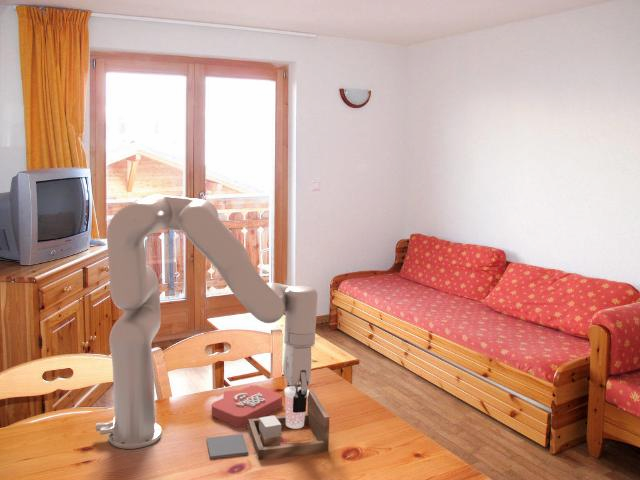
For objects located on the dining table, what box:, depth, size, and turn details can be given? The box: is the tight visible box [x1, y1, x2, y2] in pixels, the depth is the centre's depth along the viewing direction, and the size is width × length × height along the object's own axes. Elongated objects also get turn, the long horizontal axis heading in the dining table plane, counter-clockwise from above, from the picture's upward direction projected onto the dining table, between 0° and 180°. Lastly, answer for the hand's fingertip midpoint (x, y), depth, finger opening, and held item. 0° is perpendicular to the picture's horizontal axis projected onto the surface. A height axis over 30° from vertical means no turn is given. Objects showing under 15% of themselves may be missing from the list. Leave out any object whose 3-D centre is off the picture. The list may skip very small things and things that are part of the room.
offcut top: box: [258, 414, 282, 439], centre depth 150 cm, size 4×5×3 cm
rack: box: [247, 389, 330, 461], centre depth 151 cm, size 17×16×9 cm
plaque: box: [211, 385, 283, 428], centre depth 169 cm, size 18×4×15 cm
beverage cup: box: [283, 383, 310, 430], centre depth 151 cm, size 6×6×14 cm
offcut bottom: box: [259, 431, 281, 447], centre depth 150 cm, size 4×6×3 cm, turn 14°
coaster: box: [206, 433, 249, 460], centre depth 148 cm, size 9×9×1 cm
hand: (295, 405), depth 152 cm, fingers closed on beverage cup, 6 cm apart
